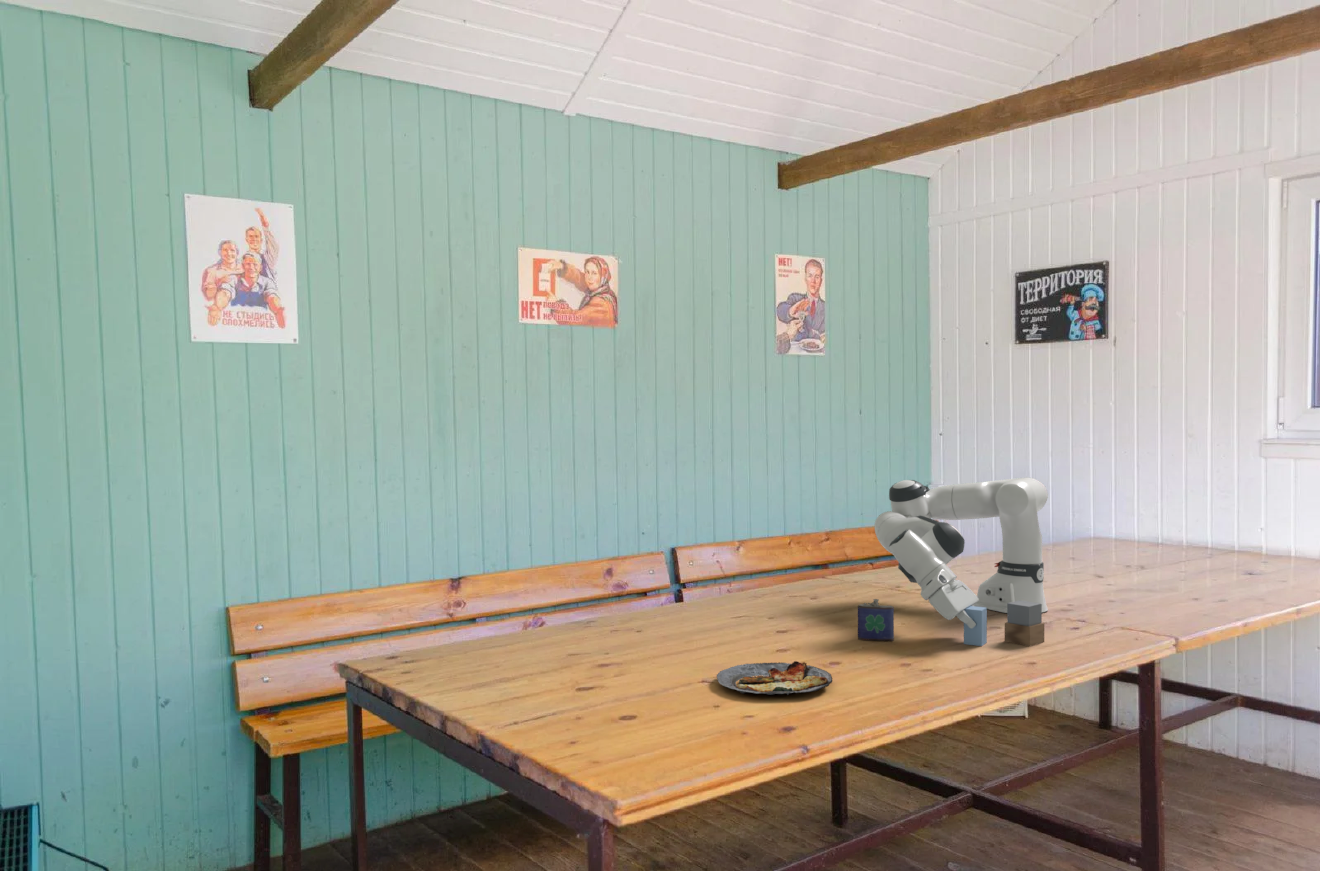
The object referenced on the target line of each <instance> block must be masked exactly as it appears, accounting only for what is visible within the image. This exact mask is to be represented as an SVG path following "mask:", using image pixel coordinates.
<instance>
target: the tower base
mask: <svg viewBox="0 0 1320 871" xmlns="http://www.w3.org/2000/svg"><path fill="white" fill-rule="evenodd" d="M1004 642H1005V643H1006V642H1007V643H1010V644H1015V645H1021V646H1025V647H1033V646H1036V645H1039V644H1043V643H1045V623H1044V622H1042V623H1040V624H1037V625H1033V626H1023V625H1018V624H1012V623H1007V621H1006V622H1004Z"/></svg>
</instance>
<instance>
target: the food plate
mask: <svg viewBox="0 0 1320 871" xmlns="http://www.w3.org/2000/svg"><path fill="white" fill-rule="evenodd" d="M716 678H717V682H718V683H719V685H721V686H723V687H725V688H728V689H731V690H736V691H737V692H739V693H740V694H746V693H752V694H755V695H756V694H757V695H759V694H764V695H769V696H772V695H775V694H777V695H784V694H786V696H789V694H792V693H793V694H799V693H800V694H801V693H811V692H818V691H820V690H822V689H825V688H826V687H828V686H829V685H830V684H832V683H833V676H832V674H831V673H830V672H828V671H827V670H825V669H822V668H819V667H817V666H813V665H810V664H808V665H807V662H805V661H803V662H799V661H796V660H795V661H793V662H792V663H790V662H755V663H753V662H752V663H751V662H750V663H744V664H737V665H733V666H730V667H729V668H725V669H721V670H720V671H719V672H718V673H717V674H716ZM737 682H738V684H737Z"/></svg>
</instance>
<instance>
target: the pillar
mask: <svg viewBox="0 0 1320 871" xmlns="http://www.w3.org/2000/svg"><path fill="white" fill-rule="evenodd" d="M964 611H965V612H966V613H967V615H968V616H969V617H970V618H972V619H974V620H975V622H976V623H977V625H976V626H975V627H973V628H970V627H969V626H968V625H967V624H965V623H964V622H963V645H970V646H978V647H984V645H986V644H987V643H988V642H987V640H988V636H987V635H988V634H987V633H988V627H987V626H988V624H987V622H988V621H987V616H988V609H987V608H986V607H977V606H969V607H968V608H966V609H964Z"/></svg>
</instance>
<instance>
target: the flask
mask: <svg viewBox="0 0 1320 871" xmlns="http://www.w3.org/2000/svg"><path fill="white" fill-rule="evenodd" d="M872 600H873V602H871V603H870V602H867V603H866V602H864V603H861V604H858V605H857V640H859V641H870V642H872V641H873V642H875V641H877V642H894V639H895V634H894V633H895V632H894V631H895V630H894V629H895V624H894V621H895V619H894V618H895V616H894V611H895V607H894V606H892V605H879V601H880V599H877V598H873V599H872Z"/></svg>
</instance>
